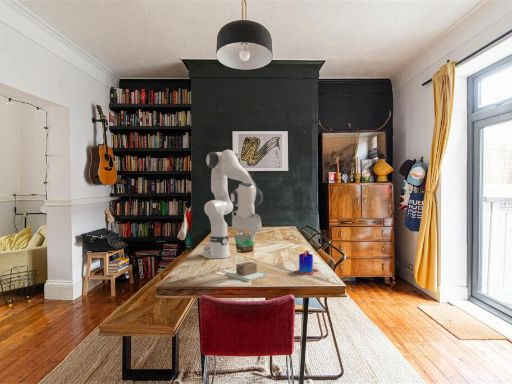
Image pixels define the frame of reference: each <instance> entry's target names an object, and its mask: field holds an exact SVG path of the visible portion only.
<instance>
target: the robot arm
mask: <svg viewBox="0 0 512 384" xmlns="http://www.w3.org/2000/svg"><path fill="white" fill-rule="evenodd" d="M205 162H206V165H207V168H209V169H210V168H211V175H210V176H211V177H210V178H211V179H210V183H211V184H210V188H211V189H210V191H211V192H212V194H213V195H214V199H212V200H209V201H208V202H206V203H204V204H205V205H204V209H203V210H204V213H205V214H206V216H208V219H209V221H210V230H211V232H210V235H209V241H208V242H207V243H206V244H205V245H204V246H203V252H201V253H199V255H200V256H202V257H205V258H206V259H225V258H226V259H227V258H229V257H230V256H231V252H230V245H229V235H228V223H227V222H226V220H225V218H224V216H225V215H228V214H230V213H231V217H232V218H231V226H232V229H234V230H238V231H237V232H238V235H242V234H244V233H243V231H245V232H246V231H247V232H250V233H252V234H251V236H250V240H253V239H254V240H255V237H254V235H256V233H260V232H262V230H263V229H262V227H263V225H262V220H261V219H262V218H261V216H260V215H259V214H257V213H256V212H255V207H258V206H259V205H261V204H262V203H263V201H264V195H263V191H261V189H259V187H258V186H257V184H256V182H255V181H254V179H253V177H252V175H251V174H250V173H249V171H248V170H247V169H245V168H244V167H243V166H242V165H241V164H240V156H239V154H238V153H236V152H234V151H233V150H231V149H225V150H223V151H217V152H215V151H211V152H208V154H207V156H206V159H205ZM228 178H229V179H231V180H236V181H238V182H242V183H239V184H238V188H235V189H234V190H232V191H231V193H230V196H229V191H228ZM234 206H235V207H237V210H235V211H233V210H234ZM254 240H253V241H254Z"/></svg>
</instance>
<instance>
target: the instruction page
mask: <svg viewBox="0 0 512 384" xmlns="http://www.w3.org/2000/svg"><path fill="white" fill-rule="evenodd" d="M230 271H232V270H231V269H223V270H220V271H217V272H214V274H216V275H221V276H225V275H226V272H230Z"/></svg>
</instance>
